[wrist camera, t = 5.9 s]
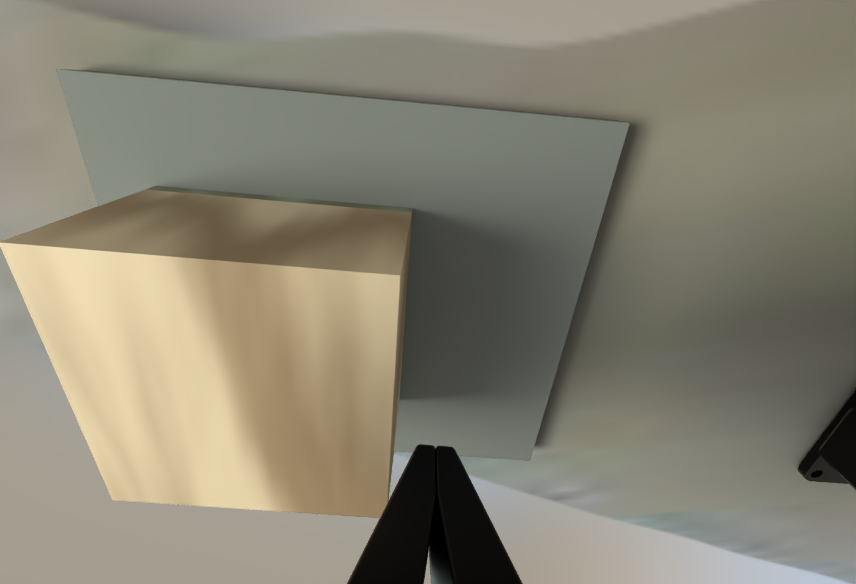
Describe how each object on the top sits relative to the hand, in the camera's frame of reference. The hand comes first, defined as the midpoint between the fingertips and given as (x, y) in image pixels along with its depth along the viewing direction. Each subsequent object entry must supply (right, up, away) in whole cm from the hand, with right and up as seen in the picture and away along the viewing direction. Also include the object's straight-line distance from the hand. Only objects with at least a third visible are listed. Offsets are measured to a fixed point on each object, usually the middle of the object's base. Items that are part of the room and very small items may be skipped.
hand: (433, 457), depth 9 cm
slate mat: (-3, +3, +6) cm, 7 cm away
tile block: (-1, +2, +3) cm, 4 cm away
